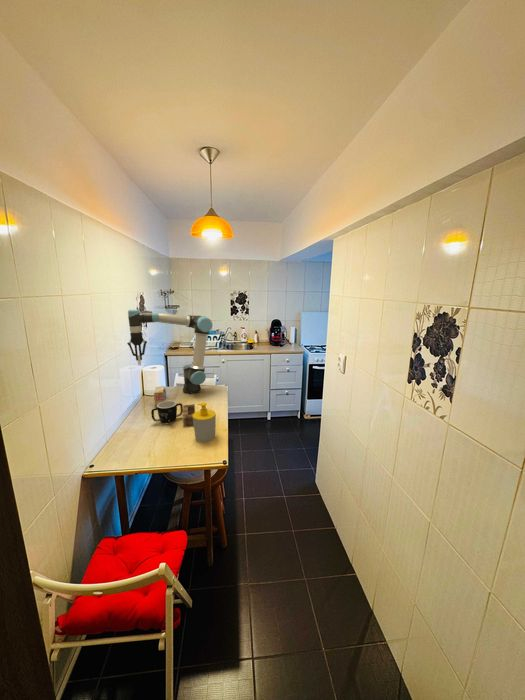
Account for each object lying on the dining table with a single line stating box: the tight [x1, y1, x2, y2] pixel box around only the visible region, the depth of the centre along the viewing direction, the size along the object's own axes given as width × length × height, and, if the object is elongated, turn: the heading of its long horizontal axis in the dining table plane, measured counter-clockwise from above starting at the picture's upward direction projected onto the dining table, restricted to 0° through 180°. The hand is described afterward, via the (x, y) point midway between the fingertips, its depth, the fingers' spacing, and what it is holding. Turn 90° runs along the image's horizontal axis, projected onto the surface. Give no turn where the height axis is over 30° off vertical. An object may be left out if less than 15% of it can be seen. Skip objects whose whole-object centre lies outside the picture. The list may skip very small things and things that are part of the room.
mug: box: [150, 400, 184, 425], centre depth 180 cm, size 16×16×12 cm
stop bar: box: [182, 404, 196, 428], centre depth 183 cm, size 20×8×6 cm, turn 15°
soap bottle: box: [192, 402, 217, 444], centre depth 158 cm, size 13×13×21 cm
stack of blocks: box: [153, 385, 167, 409], centre depth 211 cm, size 21×6×12 cm, turn 15°
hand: (139, 364), depth 197 cm, fingers closed
